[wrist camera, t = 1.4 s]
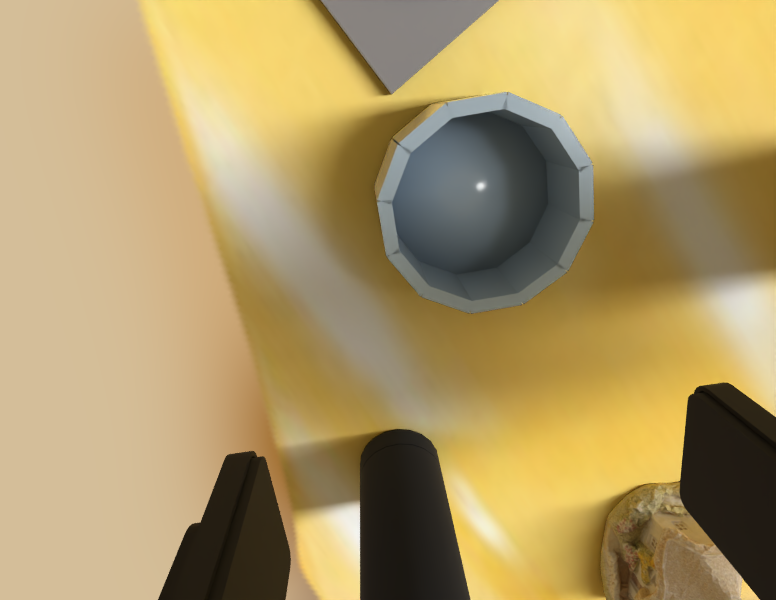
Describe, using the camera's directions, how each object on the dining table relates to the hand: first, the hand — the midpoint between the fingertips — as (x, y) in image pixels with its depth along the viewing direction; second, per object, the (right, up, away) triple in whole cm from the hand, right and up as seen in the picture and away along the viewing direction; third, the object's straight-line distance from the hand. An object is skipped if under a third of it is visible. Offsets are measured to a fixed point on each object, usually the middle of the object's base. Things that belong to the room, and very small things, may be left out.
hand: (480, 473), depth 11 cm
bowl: (+3, +11, +23) cm, 26 cm away
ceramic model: (+22, -18, +35) cm, 45 cm away
